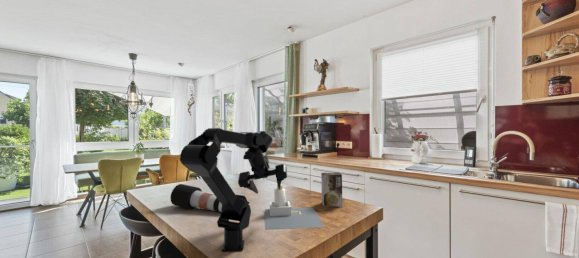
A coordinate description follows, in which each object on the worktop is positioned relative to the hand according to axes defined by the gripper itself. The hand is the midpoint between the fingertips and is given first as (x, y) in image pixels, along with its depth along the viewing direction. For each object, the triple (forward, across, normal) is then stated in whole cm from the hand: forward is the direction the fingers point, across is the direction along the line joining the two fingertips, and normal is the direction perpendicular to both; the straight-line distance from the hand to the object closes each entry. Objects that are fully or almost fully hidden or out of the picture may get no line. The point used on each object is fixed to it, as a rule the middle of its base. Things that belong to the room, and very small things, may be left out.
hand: (268, 190), depth 103 cm
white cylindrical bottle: (+15, -1, -1) cm, 15 cm away
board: (+14, -6, +5) cm, 16 cm away
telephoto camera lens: (+12, +33, -7) cm, 36 cm away
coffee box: (+28, -23, -9) cm, 37 cm away
